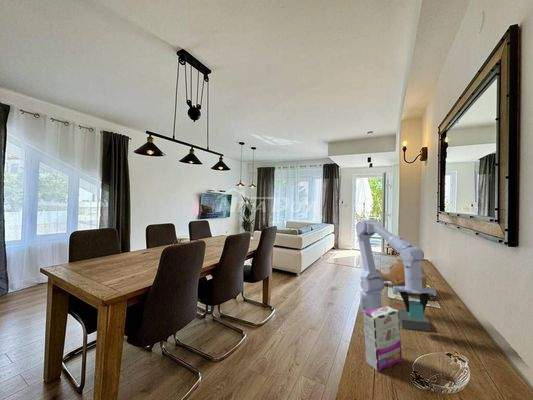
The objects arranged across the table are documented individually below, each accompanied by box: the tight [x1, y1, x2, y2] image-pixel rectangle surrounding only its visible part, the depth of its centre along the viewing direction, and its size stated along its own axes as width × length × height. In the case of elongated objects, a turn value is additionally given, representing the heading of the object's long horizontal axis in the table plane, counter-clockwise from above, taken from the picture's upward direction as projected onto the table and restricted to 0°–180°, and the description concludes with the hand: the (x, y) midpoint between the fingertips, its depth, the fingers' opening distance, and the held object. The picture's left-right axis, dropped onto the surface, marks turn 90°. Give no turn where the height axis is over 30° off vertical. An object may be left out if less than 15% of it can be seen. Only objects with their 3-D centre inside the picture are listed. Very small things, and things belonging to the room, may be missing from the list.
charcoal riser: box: [396, 309, 431, 332], centre depth 99 cm, size 10×10×4 cm
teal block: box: [407, 299, 424, 319], centre depth 92 cm, size 4×4×5 cm
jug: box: [372, 260, 428, 296], centre depth 139 cm, size 20×19×30 cm
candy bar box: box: [362, 305, 403, 372], centre depth 75 cm, size 11×5×16 cm, turn 114°
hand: (414, 311), depth 92 cm, fingers closed on teal block, 4 cm apart
